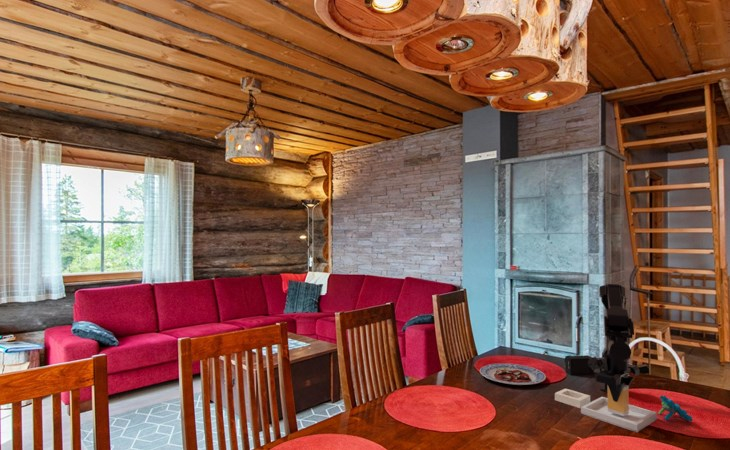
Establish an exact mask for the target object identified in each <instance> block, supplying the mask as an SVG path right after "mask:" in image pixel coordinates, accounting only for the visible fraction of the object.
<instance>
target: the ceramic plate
mask: <svg viewBox="0 0 730 450" xmlns="http://www.w3.org/2000/svg"><path fill="white" fill-rule="evenodd" d="M497 371H499V372H497ZM479 373H480V374H481V376H483V377H485V378H486V379H488V380H491V381H493V382H496V383H497V382H498V383H501V384H505V385H506V384H507V385H512V386H523V385H524V386H526V385H527V386H528V385H536V384H540V383H542V382H544V381H545V380H546V379H547V376H546V374H545V373H544V372H542V371H541V370H539V369H537V368H534V367H532V366H527V365H523V364H517V363H507V362H505V363H491V364H487V365H484V366H482V367H481V368H480V369H479Z"/></svg>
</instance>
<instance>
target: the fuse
mask: <svg viewBox="0 0 730 450" xmlns="http://www.w3.org/2000/svg"><path fill="white" fill-rule="evenodd" d="M629 388H630V387H629ZM629 388H628V385H624V386H623V388H622V391H621V394H620V397H619V399H618V401H617V402H615V401H613V398H612V395H611V392H610V389H609V387H608V385H607V391H608V392H607V398H608V411H609V412H612V413H615V414H618V415H621V416H625V415H627V414H629V405H630V403H629V400H630V399H629V398H630V397H629Z"/></svg>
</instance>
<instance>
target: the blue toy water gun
mask: <svg viewBox="0 0 730 450" xmlns="http://www.w3.org/2000/svg"><path fill="white" fill-rule="evenodd" d="M659 399H660V401H661V405H662V406H661V409H660V410H659V411H658V414H659V415H660V414H661V415H662V414H663V412H664V411H666V412H668V413H667V414H666V416H664V418H663V419H664V420H665V421H669V419H670V418H671V417H672V416H673V415H676V414H677V415H678V416H679V417H680V418H682V419H684V420H685V421H687V422H690V423H692V422H693V420H694V419H693V417H692V416H691V415H690V414H688V411H686V410H685V409H682V408H681V405H679V404H678V403H675V402H674V401H673V400H672V399H671V398H668V397H667V396H665V395H660V396H659Z"/></svg>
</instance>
